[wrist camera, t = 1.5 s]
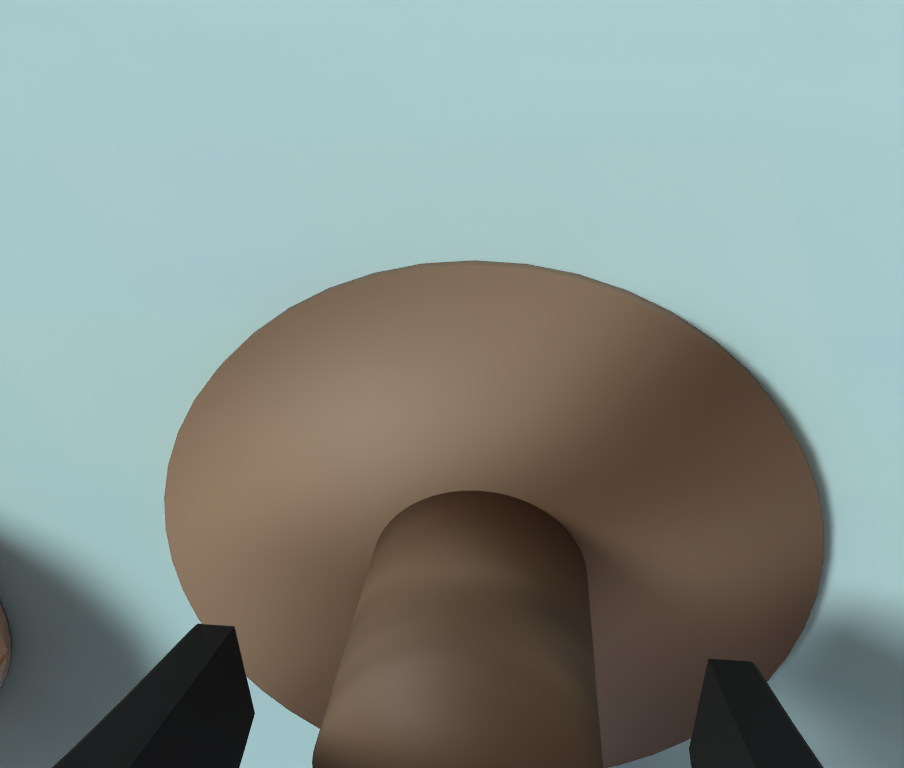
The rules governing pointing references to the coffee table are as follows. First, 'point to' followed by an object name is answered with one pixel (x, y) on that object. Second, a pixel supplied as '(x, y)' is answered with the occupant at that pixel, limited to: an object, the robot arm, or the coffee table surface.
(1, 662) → the terracotta bowl
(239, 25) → the coffee table surface
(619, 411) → the walnut lid
